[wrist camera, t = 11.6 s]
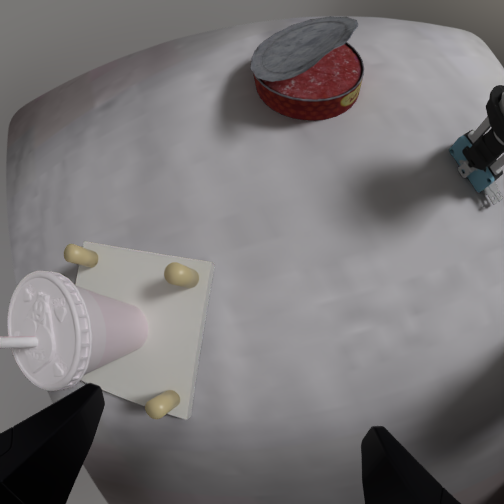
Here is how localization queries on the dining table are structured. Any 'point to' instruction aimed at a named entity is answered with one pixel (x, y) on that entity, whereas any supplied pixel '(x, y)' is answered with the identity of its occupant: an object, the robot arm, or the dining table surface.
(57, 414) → the robot arm
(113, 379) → the pin plate
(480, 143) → the push button
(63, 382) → the smoothie
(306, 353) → the dining table surface
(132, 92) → the dining table surface
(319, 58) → the canned food
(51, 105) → the dining table surface
